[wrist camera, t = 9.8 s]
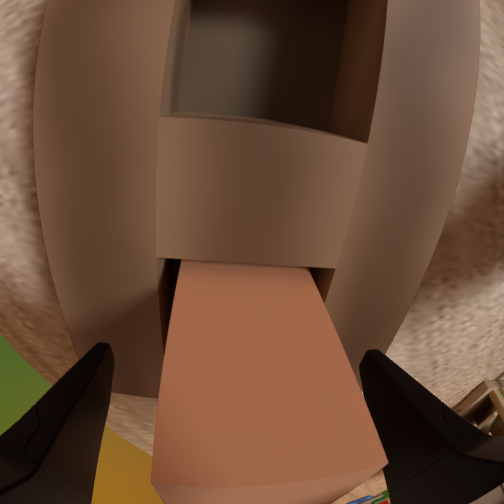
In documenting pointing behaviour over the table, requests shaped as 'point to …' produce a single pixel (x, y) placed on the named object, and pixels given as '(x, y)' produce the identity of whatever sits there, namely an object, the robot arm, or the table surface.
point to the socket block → (246, 155)
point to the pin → (257, 393)
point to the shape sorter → (373, 499)
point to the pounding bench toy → (485, 407)
